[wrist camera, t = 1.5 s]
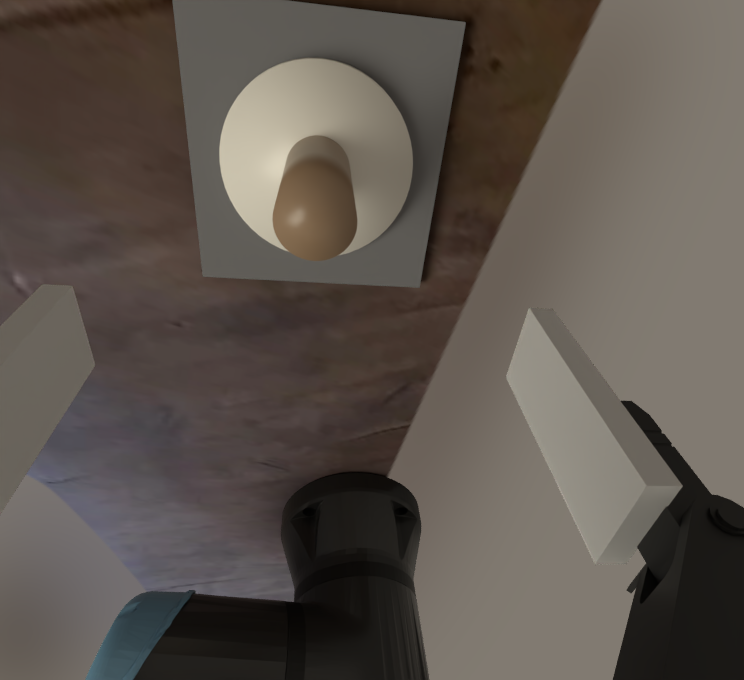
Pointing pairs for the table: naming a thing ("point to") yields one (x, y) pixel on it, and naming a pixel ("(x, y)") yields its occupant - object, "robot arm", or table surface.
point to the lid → (316, 158)
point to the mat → (319, 40)
